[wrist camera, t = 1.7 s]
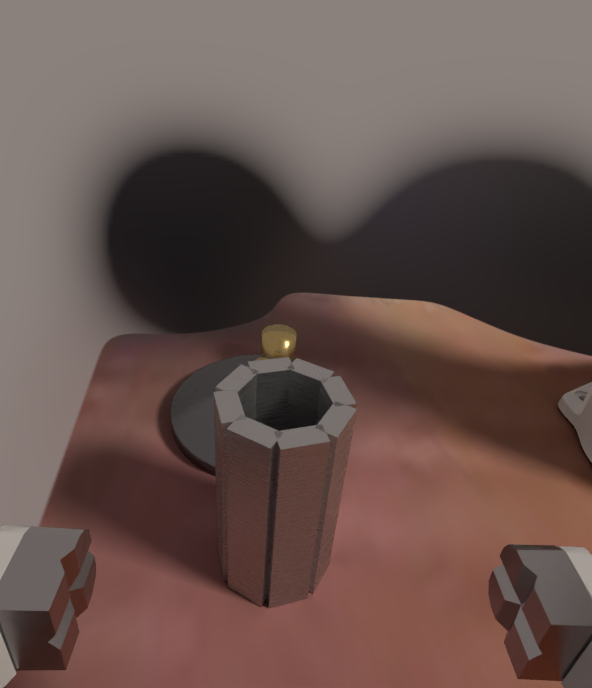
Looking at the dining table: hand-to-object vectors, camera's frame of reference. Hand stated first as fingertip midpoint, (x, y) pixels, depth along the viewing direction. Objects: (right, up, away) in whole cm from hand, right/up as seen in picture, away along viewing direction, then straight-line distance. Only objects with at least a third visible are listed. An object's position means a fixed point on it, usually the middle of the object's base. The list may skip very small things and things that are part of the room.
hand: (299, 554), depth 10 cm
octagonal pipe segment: (-1, -8, +20) cm, 22 cm away
